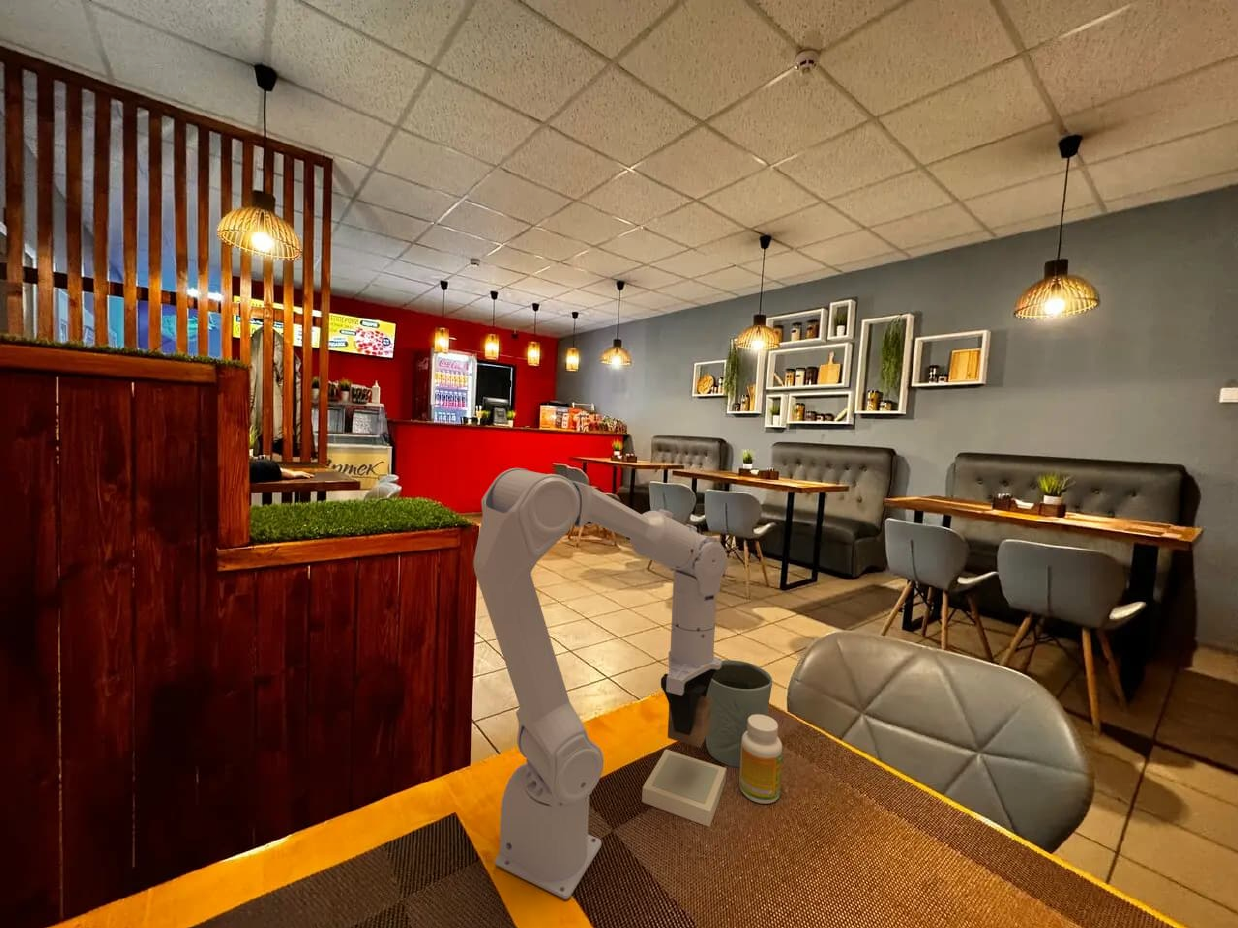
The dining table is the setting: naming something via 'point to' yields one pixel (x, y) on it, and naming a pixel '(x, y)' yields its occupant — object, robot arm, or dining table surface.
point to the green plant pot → (735, 707)
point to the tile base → (685, 787)
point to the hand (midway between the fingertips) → (688, 722)
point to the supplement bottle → (761, 760)
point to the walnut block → (699, 727)
